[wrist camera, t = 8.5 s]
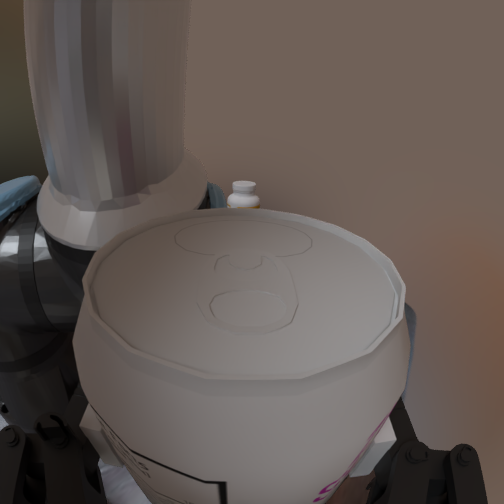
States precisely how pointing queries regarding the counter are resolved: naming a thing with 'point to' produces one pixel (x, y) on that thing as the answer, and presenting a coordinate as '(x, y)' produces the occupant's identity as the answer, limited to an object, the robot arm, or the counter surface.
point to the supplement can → (241, 354)
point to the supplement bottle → (243, 196)
